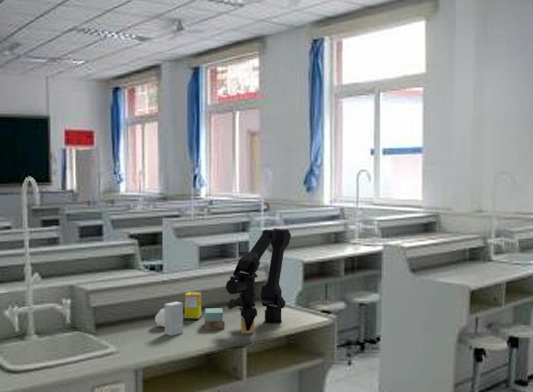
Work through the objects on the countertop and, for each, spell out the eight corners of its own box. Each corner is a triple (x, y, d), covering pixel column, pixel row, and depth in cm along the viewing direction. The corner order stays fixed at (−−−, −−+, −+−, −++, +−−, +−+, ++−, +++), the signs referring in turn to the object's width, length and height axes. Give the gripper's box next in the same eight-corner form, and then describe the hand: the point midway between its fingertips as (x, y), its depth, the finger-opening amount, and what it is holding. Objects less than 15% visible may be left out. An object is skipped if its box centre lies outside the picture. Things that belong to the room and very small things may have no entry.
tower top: (222, 316, 244) (222, 308, 244) (222, 321, 238) (222, 312, 237) (205, 316, 244) (205, 308, 243) (205, 321, 237) (205, 312, 237)
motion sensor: (164, 323, 245) (163, 304, 245) (178, 325, 242) (178, 307, 241) (151, 327, 238) (151, 308, 238) (166, 330, 235) (166, 311, 234)
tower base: (224, 324, 245) (224, 316, 245) (224, 329, 237) (224, 321, 237) (204, 324, 245) (204, 316, 244) (204, 330, 237) (204, 321, 236)
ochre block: (253, 329, 237) (253, 317, 237) (254, 332, 232) (254, 320, 232) (240, 329, 236) (240, 317, 236) (241, 333, 231) (241, 320, 231)
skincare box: (176, 330, 234) (176, 301, 233) (183, 333, 231) (183, 303, 230) (164, 333, 230) (163, 303, 229) (170, 336, 227) (170, 305, 226)
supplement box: (201, 316, 256) (201, 291, 255) (198, 320, 250) (198, 294, 249) (187, 316, 256) (187, 291, 256) (184, 319, 250) (184, 294, 250)
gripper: (226, 285, 242) (226, 322, 243) (228, 295, 223) (227, 336, 224) (253, 284, 243) (253, 322, 244) (257, 295, 224) (257, 335, 225)
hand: (247, 328), depth 234 cm, fingers closed on ochre block, 5 cm apart
